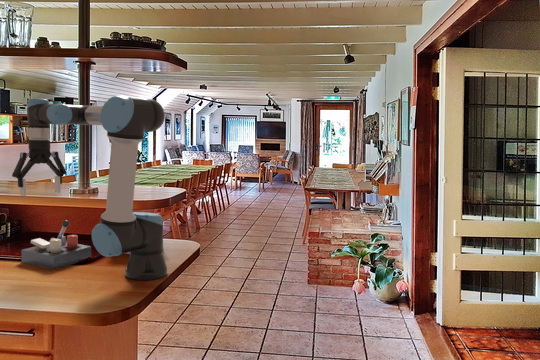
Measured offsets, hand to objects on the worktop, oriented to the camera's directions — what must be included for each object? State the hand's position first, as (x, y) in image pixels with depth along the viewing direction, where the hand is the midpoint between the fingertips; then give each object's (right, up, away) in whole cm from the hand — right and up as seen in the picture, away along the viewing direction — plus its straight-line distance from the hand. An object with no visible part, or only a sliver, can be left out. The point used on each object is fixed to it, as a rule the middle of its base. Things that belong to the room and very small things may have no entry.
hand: (41, 194), depth 182 cm
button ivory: (+6, -23, -1) cm, 24 cm away
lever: (+2, -20, +10) cm, 22 cm away
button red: (+10, -22, +6) cm, 25 cm away
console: (+4, -27, +5) cm, 27 cm away
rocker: (-1, -19, +2) cm, 20 cm away
